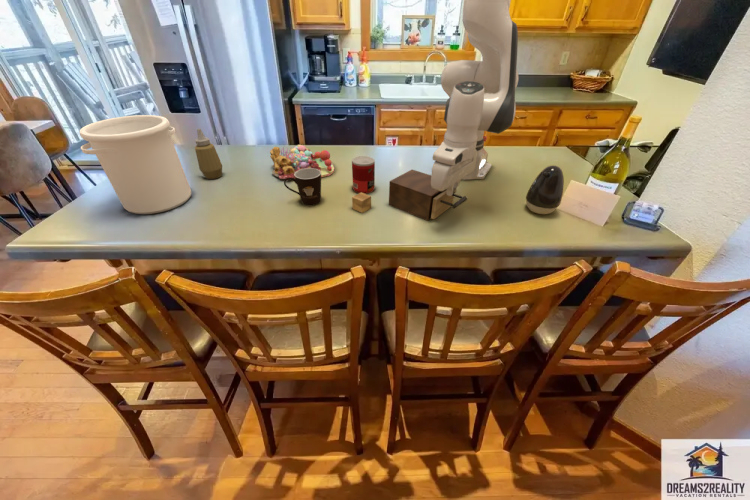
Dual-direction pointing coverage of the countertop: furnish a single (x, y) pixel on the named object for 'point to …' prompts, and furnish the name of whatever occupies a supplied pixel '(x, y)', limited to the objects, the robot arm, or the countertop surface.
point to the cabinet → (412, 193)
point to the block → (361, 202)
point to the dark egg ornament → (546, 191)
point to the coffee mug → (307, 185)
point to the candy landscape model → (300, 161)
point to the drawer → (444, 203)
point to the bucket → (139, 161)
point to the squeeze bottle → (207, 157)
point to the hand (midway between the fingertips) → (451, 194)
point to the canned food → (363, 174)
